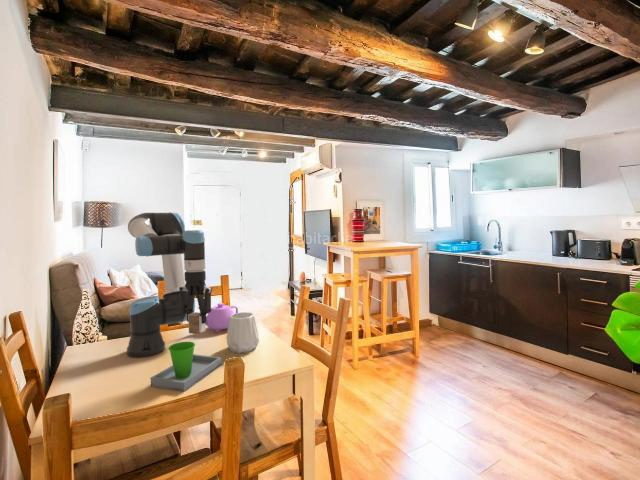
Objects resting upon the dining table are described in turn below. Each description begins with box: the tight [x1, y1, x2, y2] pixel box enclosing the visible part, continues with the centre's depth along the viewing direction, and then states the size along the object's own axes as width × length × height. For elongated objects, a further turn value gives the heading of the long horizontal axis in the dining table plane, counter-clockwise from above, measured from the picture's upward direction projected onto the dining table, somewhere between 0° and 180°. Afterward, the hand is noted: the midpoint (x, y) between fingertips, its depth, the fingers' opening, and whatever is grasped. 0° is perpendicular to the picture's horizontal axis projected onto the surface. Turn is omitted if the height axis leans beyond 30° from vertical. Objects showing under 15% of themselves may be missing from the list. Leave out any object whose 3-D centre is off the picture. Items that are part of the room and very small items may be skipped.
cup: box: [168, 341, 196, 379], centre depth 123 cm, size 9×9×11 cm
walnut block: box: [188, 311, 200, 335], centre depth 131 cm, size 4×4×7 cm
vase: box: [226, 312, 260, 354], centre depth 152 cm, size 14×14×15 cm
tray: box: [150, 353, 223, 392], centre depth 126 cm, size 14×22×3 cm, turn 163°
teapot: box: [197, 302, 239, 334], centre depth 180 cm, size 22×16×14 cm
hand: (197, 330), depth 131 cm, fingers closed on walnut block, 4 cm apart
